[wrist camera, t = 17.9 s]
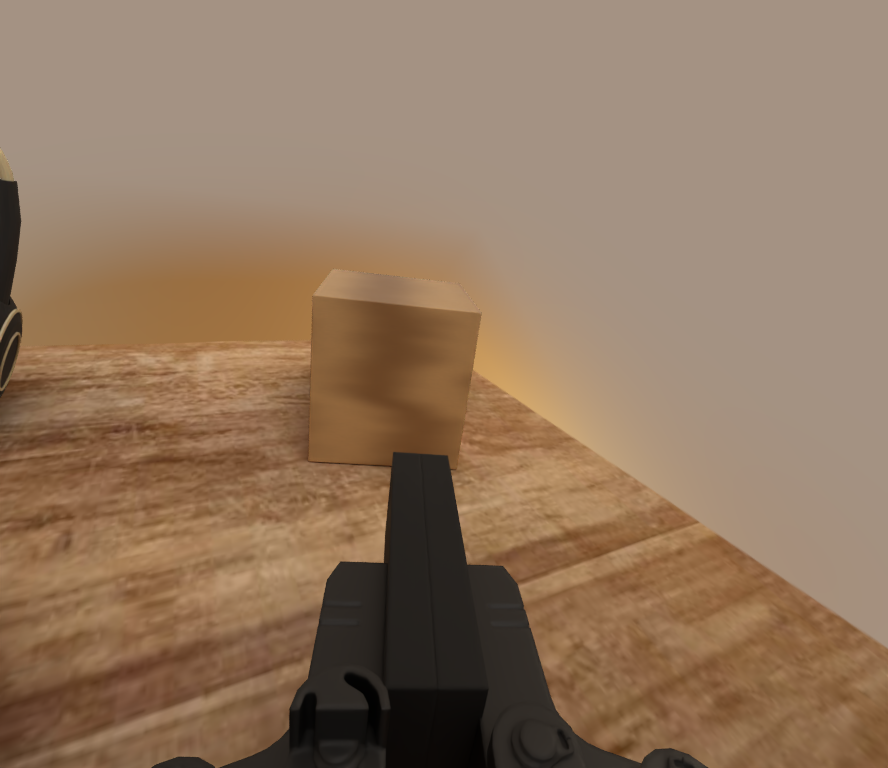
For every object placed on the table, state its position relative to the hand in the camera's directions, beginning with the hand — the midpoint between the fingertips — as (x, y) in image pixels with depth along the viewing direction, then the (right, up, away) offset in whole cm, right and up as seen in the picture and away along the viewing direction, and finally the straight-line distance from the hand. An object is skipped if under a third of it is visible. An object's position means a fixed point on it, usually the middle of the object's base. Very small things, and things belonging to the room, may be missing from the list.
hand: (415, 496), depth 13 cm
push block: (-3, 0, +20) cm, 20 cm away
